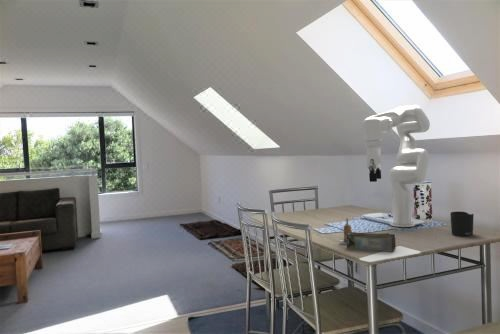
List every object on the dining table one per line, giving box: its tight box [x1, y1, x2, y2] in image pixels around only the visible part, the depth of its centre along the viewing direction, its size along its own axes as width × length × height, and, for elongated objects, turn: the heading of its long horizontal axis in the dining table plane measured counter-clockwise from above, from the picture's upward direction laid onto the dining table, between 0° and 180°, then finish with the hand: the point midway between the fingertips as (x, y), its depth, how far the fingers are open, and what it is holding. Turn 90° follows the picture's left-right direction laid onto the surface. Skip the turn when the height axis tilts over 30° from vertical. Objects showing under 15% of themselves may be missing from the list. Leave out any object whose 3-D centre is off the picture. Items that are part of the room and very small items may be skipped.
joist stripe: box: [337, 239, 347, 246], centre depth 176 cm, size 16×9×1 cm, turn 150°
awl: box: [343, 217, 352, 242], centre depth 174 cm, size 3×3×11 cm
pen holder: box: [450, 211, 475, 237], centre depth 178 cm, size 9×9×10 cm
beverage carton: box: [346, 231, 396, 253], centre depth 161 cm, size 8×19×7 cm, turn 63°
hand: (375, 180), depth 181 cm, fingers open, 9 cm apart
